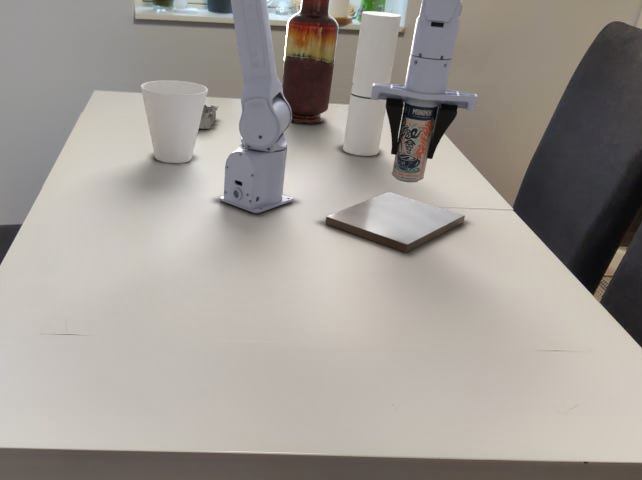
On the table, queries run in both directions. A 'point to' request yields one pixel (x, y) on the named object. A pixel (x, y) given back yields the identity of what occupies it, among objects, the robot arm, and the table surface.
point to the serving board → (395, 221)
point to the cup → (173, 117)
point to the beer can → (414, 139)
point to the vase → (309, 61)
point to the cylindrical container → (370, 81)
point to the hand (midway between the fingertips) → (411, 154)
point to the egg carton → (208, 117)
